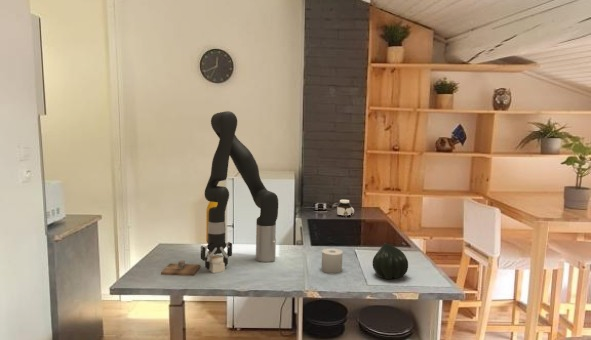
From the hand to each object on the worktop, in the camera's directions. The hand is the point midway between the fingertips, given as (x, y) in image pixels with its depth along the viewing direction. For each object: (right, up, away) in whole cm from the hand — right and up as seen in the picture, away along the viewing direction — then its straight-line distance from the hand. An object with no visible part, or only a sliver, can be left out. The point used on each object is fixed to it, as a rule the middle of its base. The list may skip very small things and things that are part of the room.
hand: (216, 267), depth 181 cm
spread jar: (+71, +10, +116) cm, 136 cm away
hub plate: (-15, -1, -2) cm, 15 cm away
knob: (0, -1, 0) cm, 1 cm away
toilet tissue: (+51, -2, +6) cm, 51 cm away
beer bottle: (-9, +4, +42) cm, 43 cm away
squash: (+76, -4, -2) cm, 76 cm away
